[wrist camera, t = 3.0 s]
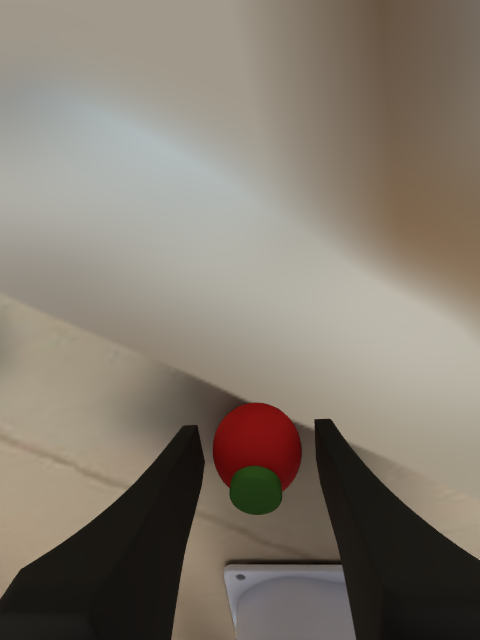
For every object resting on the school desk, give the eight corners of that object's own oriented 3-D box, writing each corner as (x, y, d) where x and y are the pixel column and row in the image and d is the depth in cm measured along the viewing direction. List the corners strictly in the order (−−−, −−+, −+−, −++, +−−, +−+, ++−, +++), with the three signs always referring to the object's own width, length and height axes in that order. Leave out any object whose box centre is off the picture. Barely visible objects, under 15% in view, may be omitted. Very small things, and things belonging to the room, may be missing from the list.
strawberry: (294, 383, 13) (307, 454, 9) (298, 447, 14) (311, 532, 11) (213, 388, 14) (194, 457, 10) (224, 450, 15) (211, 533, 11)
